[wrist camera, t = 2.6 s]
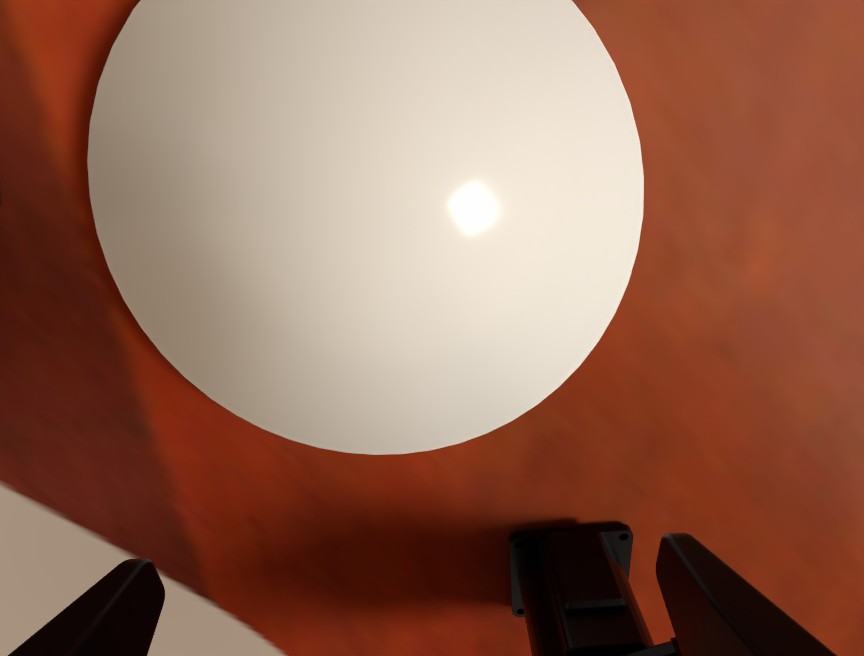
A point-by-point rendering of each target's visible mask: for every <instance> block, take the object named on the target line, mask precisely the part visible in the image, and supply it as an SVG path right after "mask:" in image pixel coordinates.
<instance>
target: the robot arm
mask: <svg viewBox="0 0 864 656" xmlns="http://www.w3.org/2000/svg"><path fill="white" fill-rule="evenodd" d="M632 543H633V533H632V531H631V529H630V527H629V526H627V525H625V524H619V525H606V526H593V527H579V528H566V529H553V530H540V531H527V532H516V533H513V534H511V535H510V537H509V561H510V584H511V606H512V612H513V615H515V616H517V617H525V619H526V625H527V630H528V635H529V641H530V646H531V652H532V656H837V655H836V654H835V653H833V652H832V651H831V650H830V649H828V648H827V647H826V646H825V645H824V644H822V643H821V642H820V641H819V640H818V639H816V638H815V637H814V636H813V635H811V634H810V633H809V632H808V631H807V630H805V629H804V628H803V627H802V626H801V625H799V624H798V623H797V622H796V621H794V620H793V619H792V618H791V617H790V616H788V615H787V614H786V613H785V612H784V611H782V610H781V609H780V608H779V607H778V606H776V605H775V604H774V603H773V602H771V601H770V600H769V599H768V598H767V597H765V596H764V595H763V594H762V593H761V592H759V591H758V590H757V589H756V588H754V587H753V586H752V585H751V584H750V583H748V582H747V581H746V580H745V579H744V578H742V577H741V576H740V575H739V574H737V573H736V572H735V571H734V570H733V569H731V568H730V567H729V566H728V565H727V564H725V563H724V562H723V561H722V560H720V559H719V558H718V557H717V556H716V555H714V554H713V553H712V552H711V551H710V550H708V549H707V548H706V547H705V546H703V545H702V544H701V543H700V542H699V541H697V540H696V539H695V538H694V537H692V536H691V535H689V534H687V533H670V534H665V535H663V537H662V539H661V542H660V547H659V552H658V557H657V562H656V575H657V580H658V583H659V586H660V589H661V592H662V595H663V599H664V602H665V605H666V608H667V611H668V614H669V617H670V620H671V623H672V626H673V629H674V632H675V635H676V637H674V638H670V639H671V641H669V642H665V643H662V644H658V645H654V643H653V640H652V638H651V635H650V633H649V630H648V628H647V626H646V623H645V621H644V618H643V616H642V613H641V611H640V608H639V606H638V604H637V601H636V599H635V596H634V594H633V591H632V589H631V586H630V584H629V581H628V578H629V569H630V560H631V551H632ZM164 599H165V590H164V586H163V584H162V581H161V579H160V577H159V575H158V572H157V570H156V568H155V566H154V563H153V562H152V561H151V560H150V559H146V558H145V559H129V560H126V561H124V562H122V563H121V564H119V565H118V566H117V567H115V568H114V569H113V570H112V571H111V572H109V573H108V574H107V575H106V576H104V577H103V578H102V579H101V580H100V581H98V582H97V583H96V584H95V585H93V586H92V587H91V588H90V589H89V590H87V591H86V592H85V593H84V594H82V595H81V596H80V597H79V598H78V599H76V600H75V601H74V602H73V603H71V604H70V605H69V606H68V607H67V608H65V609H64V610H63V611H62V612H61V613H59V614H58V615H57V616H56V617H54V618H53V619H52V620H51V621H50V622H49V623H47V624H46V625H45V626H43V627H42V628H41V629H40V630H39V631H37V632H36V633H35V634H34V635H32V636H31V637H30V638H29V639H28V640H26V641H25V642H24V643H23V644H22V645H20V646H19V647H18V648H17V649H16V650H14V651H13V652H12V653H11V654H9V655H8V656H147V654H148V650H149V647H150V644H151V641H152V638H153V635H154V632H155V629H156V626H157V623H158V620H159V616H160V613H161V610H162V607H163V603H164Z"/></svg>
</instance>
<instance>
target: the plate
mask: <svg viewBox="0 0 864 656" xmlns="http://www.w3.org/2000/svg"><path fill="white" fill-rule="evenodd" d="M87 163H88V178H89V192H90V201H91V206H92V211H93V216H94V221H95V226H96V231H97V235H98V238H99V241H100V244H101V247H102V250H103V253H104V256H105V259H106V262H107V265H108V268H109V270H110V272H111V274H112V276H113V279H114V281H115V283H116V285H117V287H118V289H119V291H120V293H121V295H122V297H123V300H124V301H125V303H126V304H127V306H128V308H129V309H130V311H131V312H132V314H133V316H134V317H135V319H136V320H137V322H138V324H139V325H140V327H141V328H142V330H143V331H144V332H145V333H146V335H147V336H148V337H149V339H150V340H151V341H152V342H153V344H154V345H155V346H156V347H157V349H158V350H159V351H160V352H161V354H162V355H163V356H164V357H165V358H166V359H167V360H168V361H169V362H170V363H171V364H172V365H173V366H174V367H175V368H176V369H177V370H178V371H179V372H180V373H181V374H182V375H183V376H184V377H185V378H186V379H187V380H188V381H190V382H191V383H192V384H193V385H195V386H196V387H197V388H198V389H200V390H201V391H202V392H203V393H204V394H206V395H207V396H208V397H209V398H211V399H212V400H214V401H215V402H217V403H218V404H220V405H221V406H223V407H224V408H226V409H228V410H229V411H231V412H232V413H234V414H235V415H237V416H239V417H241V418H243V419H245V420H247V421H249V422H250V423H252V424H254V425H256V426H258V427H260V428H262V429H264V430H267V431H269V432H272V433H275V434H277V435H280V436H282V437H285V438H287V439H290V440H293V441H297V442H300V443H304V444H307V445H311V446H314V447H318V448H323V449H329V450H335V451H340V452H346V453H359V454H373V455H381V454H406V453H413V452H421V451H428V450H434V449H438V448H442V447H446V446H450V445H454V444H458V443H461V442H464V441H467V440H470V439H472V438H475V437H478V436H481V435H484V434H486V433H488V432H490V431H492V430H494V429H496V428H498V427H500V426H503V425H505V424H507V423H509V422H511V421H512V420H514V419H516V418H517V417H519V416H520V415H522V414H523V413H525V412H527V411H528V410H530V409H531V408H533V407H534V406H536V405H537V404H539V403H540V402H541V401H542V400H543V399H545V398H546V397H547V396H548V395H550V394H551V393H552V392H553V391H555V390H556V389H557V388H558V387H559V386H560V385H561V384H562V383H563V382H564V381H565V380H566V379H567V378H568V377H569V376H570V375H571V374H572V373H573V372H574V371H575V370H576V369H577V368H578V367H579V366H580V365H581V363H582V362H583V361H584V360H585V358H586V357H587V356H588V354H589V353H590V352H591V350H592V349H593V348H594V346H595V345H596V344H597V343H598V341H599V340H600V338H601V336H602V335H603V333H604V331H605V330H606V328H607V326H608V324H609V323H610V321H611V319H612V318H613V316H614V314H615V312H616V310H617V308H618V305H619V303H620V301H621V298H622V296H623V294H624V292H625V289H626V287H627V285H628V282H629V278H630V275H631V272H632V268H633V265H634V261H635V258H636V254H637V251H638V245H639V238H640V232H641V225H642V219H643V195H644V176H643V167H642V158H641V149H640V141H639V137H638V133H637V129H636V125H635V121H634V117H633V113H632V109H631V105H630V101H629V99H628V96H627V94H626V91H625V89H624V87H623V84H622V82H621V79H620V77H619V74H618V72H617V69H616V67H615V64H614V63H613V61H612V59H611V57H610V56H609V54H608V52H607V50H606V49H605V47H604V45H603V44H602V42H601V40H600V38H599V37H598V35H597V33H596V31H595V30H594V28H593V27H592V25H591V24H590V23H589V22H588V20H587V19H586V18H585V16H584V15H583V14H582V13H581V11H580V10H579V9H578V8H577V6H576V5H575V4H574V3H573V1H572V0H140V2H139V3H138V4H137V5H136V7H135V8H134V9H133V11H132V12H131V14H130V16H129V18H128V19H127V21H126V23H125V25H124V26H123V28H122V30H121V32H120V33H119V35H118V37H117V39H116V40H115V42H114V44H113V46H112V48H111V51H110V54H109V56H108V59H107V62H106V64H105V67H104V70H103V72H102V75H101V78H100V80H99V83H98V87H97V92H96V96H95V101H94V106H93V110H92V115H91V120H90V129H89V143H88V158H87Z"/></svg>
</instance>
